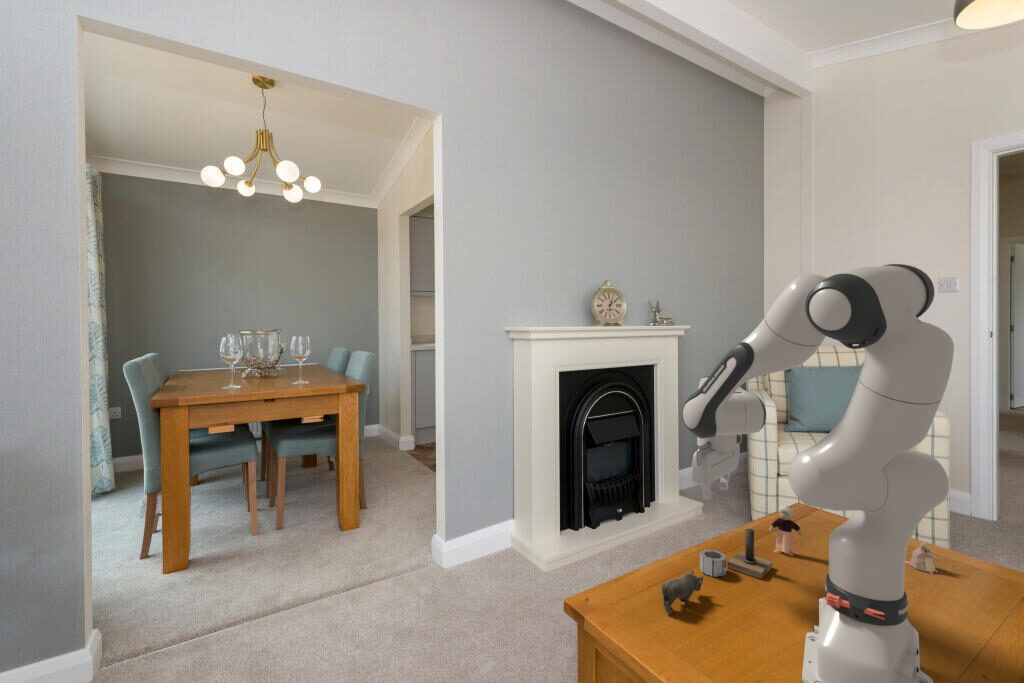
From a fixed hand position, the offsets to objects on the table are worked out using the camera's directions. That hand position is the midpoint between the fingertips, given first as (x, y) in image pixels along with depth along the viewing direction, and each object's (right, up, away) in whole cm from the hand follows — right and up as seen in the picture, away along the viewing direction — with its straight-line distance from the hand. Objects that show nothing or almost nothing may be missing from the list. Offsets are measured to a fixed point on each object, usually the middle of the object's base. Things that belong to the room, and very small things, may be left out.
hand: (715, 493), depth 121 cm
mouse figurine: (+51, -19, +1) cm, 55 cm away
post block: (+9, -19, +1) cm, 21 cm away
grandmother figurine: (+22, -19, +9) cm, 31 cm away
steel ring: (-1, -19, -1) cm, 19 cm away
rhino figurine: (-13, -20, -14) cm, 27 cm away
